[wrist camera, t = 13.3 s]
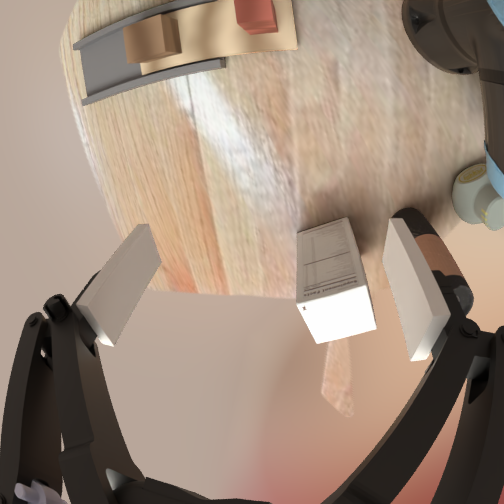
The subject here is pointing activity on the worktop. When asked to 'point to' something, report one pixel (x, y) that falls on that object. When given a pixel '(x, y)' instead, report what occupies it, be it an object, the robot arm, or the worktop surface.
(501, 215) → the air freshener
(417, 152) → the worktop surface
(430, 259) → the travel mug
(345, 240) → the supplement box
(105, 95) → the lane board
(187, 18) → the strip
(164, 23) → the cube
